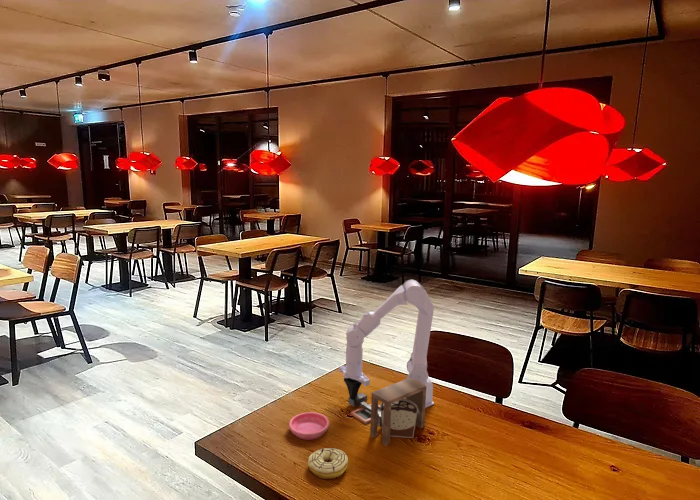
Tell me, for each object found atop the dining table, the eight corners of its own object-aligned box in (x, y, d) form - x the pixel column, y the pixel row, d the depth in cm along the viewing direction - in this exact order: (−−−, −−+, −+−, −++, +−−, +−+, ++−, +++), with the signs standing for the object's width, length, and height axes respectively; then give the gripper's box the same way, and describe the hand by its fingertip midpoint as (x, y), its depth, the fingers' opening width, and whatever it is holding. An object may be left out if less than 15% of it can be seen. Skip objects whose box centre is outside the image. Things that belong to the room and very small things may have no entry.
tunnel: (408, 417, 147) (410, 377, 145) (424, 427, 142) (426, 385, 139) (370, 435, 136) (371, 392, 134) (385, 446, 131) (387, 401, 129)
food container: (417, 427, 141) (418, 398, 140) (418, 438, 135) (419, 408, 134) (378, 424, 142) (379, 395, 141) (377, 435, 136) (378, 405, 135)
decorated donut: (320, 452, 127) (320, 440, 127) (353, 463, 123) (354, 451, 122) (301, 473, 118) (301, 461, 118) (336, 486, 114) (337, 473, 113)
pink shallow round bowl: (295, 447, 130) (295, 437, 129) (284, 425, 141) (284, 416, 141) (335, 437, 135) (335, 428, 134) (320, 417, 146) (321, 408, 146)
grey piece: (363, 398, 157) (363, 388, 157) (397, 418, 144) (398, 408, 144) (346, 405, 152) (346, 395, 152) (379, 426, 139) (380, 416, 139)
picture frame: (374, 404, 155) (374, 402, 155) (389, 413, 149) (389, 411, 149) (350, 414, 148) (350, 411, 148) (365, 424, 142) (365, 421, 142)
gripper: (332, 356, 156) (331, 392, 158) (358, 371, 145) (357, 409, 147) (347, 352, 161) (347, 387, 163) (374, 365, 149) (373, 403, 152)
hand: (353, 397), depth 155 cm, fingers closed
